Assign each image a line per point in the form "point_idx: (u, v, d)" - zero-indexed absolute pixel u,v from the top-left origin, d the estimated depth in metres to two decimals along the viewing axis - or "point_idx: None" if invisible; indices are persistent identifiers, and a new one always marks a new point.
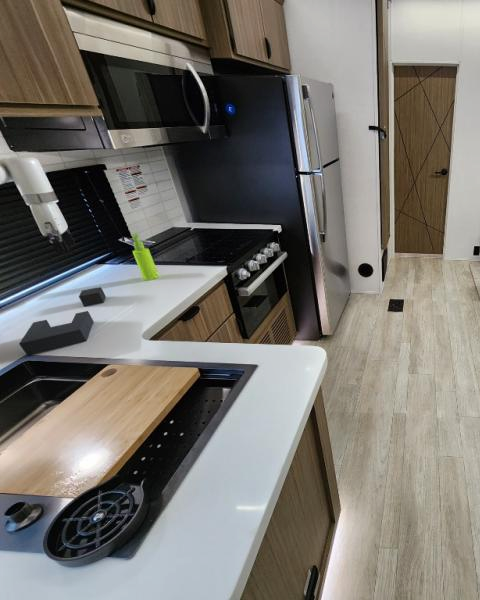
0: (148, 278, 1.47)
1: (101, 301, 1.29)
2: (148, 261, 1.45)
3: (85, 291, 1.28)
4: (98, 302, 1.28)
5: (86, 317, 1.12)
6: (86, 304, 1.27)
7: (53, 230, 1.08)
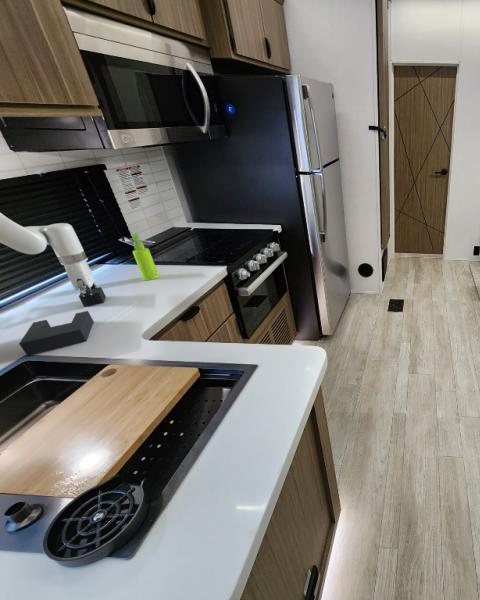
0: (148, 278, 1.47)
1: (101, 301, 1.29)
2: (148, 261, 1.45)
3: None
4: (98, 302, 1.28)
5: (86, 317, 1.12)
6: (86, 304, 1.27)
7: (84, 285, 1.24)
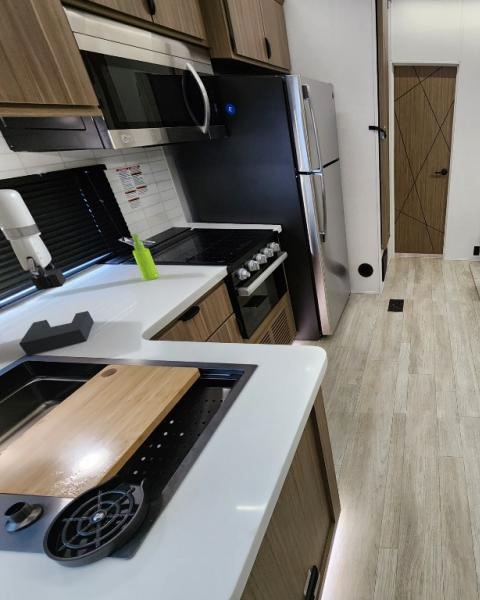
0: (148, 278, 1.47)
1: (59, 284, 1.09)
2: (148, 261, 1.45)
3: None
4: (55, 285, 1.09)
5: (86, 317, 1.12)
6: (40, 288, 1.07)
7: (36, 264, 1.05)
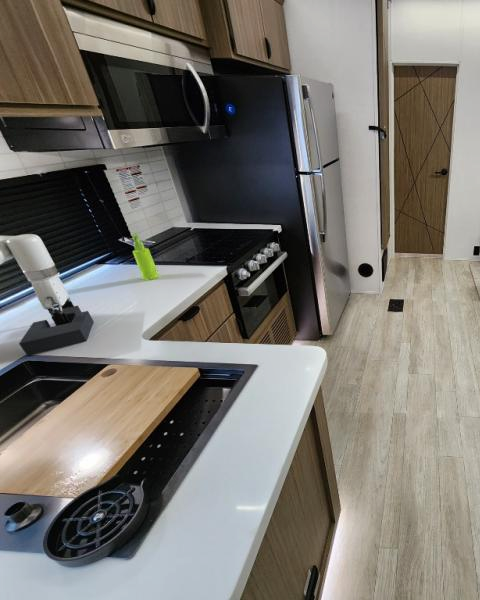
0: (148, 278, 1.47)
1: None
2: (148, 261, 1.45)
3: None
4: None
5: (86, 317, 1.12)
6: None
7: (54, 303, 1.10)
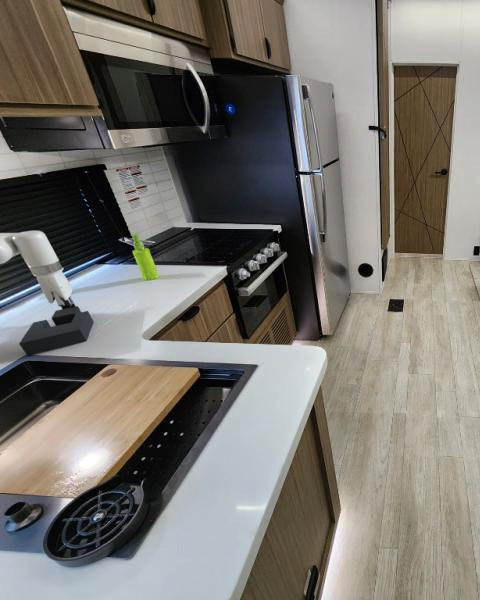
0: (148, 278, 1.47)
1: None
2: (148, 261, 1.45)
3: (59, 311, 1.14)
4: None
5: (86, 317, 1.12)
6: None
7: None
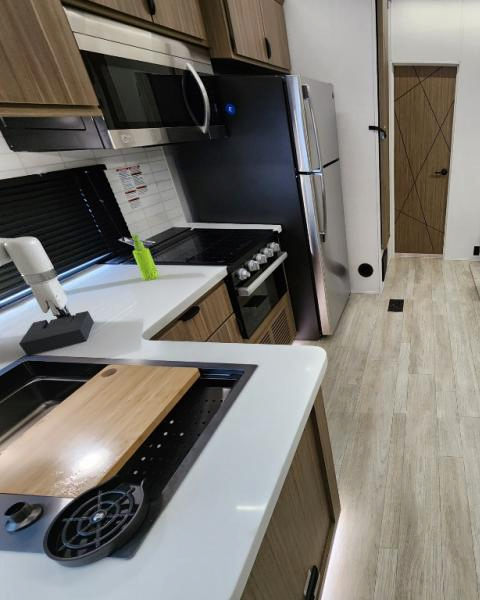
0: (148, 278, 1.47)
1: None
2: (148, 261, 1.45)
3: (54, 321, 1.09)
4: None
5: (86, 317, 1.12)
6: None
7: None
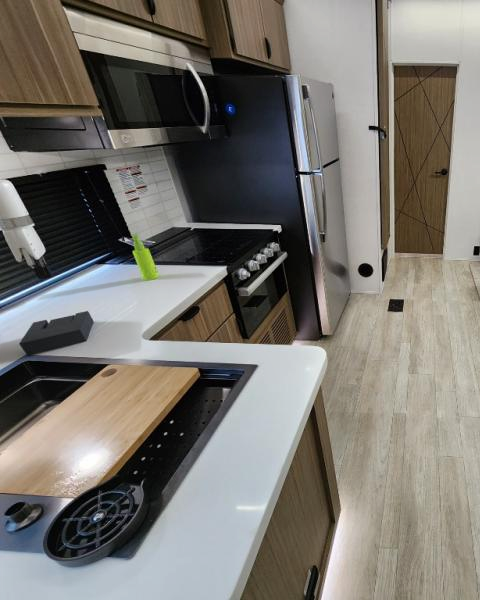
0: (148, 278, 1.47)
1: None
2: (148, 261, 1.45)
3: (54, 321, 1.09)
4: None
5: (86, 317, 1.12)
6: None
7: None
